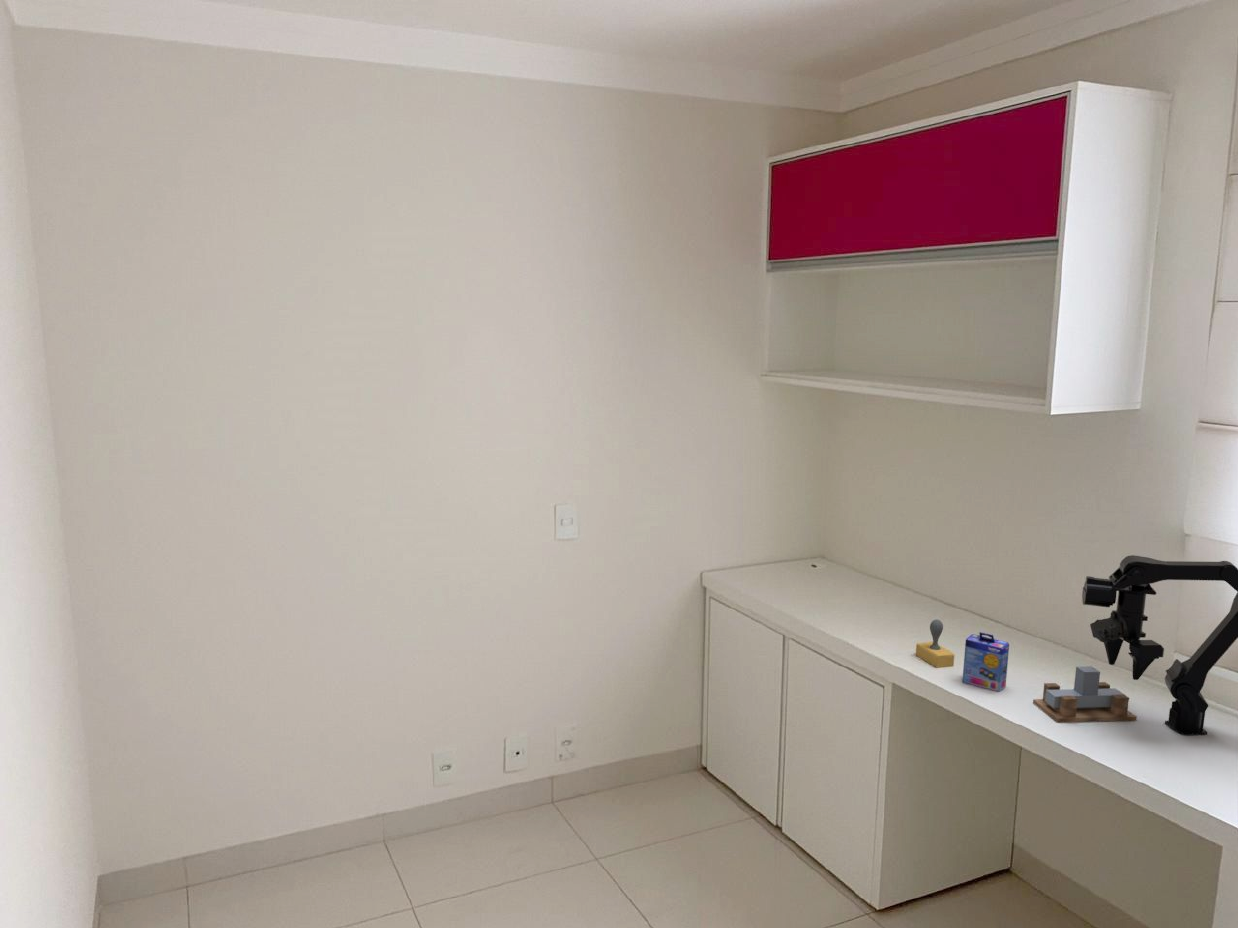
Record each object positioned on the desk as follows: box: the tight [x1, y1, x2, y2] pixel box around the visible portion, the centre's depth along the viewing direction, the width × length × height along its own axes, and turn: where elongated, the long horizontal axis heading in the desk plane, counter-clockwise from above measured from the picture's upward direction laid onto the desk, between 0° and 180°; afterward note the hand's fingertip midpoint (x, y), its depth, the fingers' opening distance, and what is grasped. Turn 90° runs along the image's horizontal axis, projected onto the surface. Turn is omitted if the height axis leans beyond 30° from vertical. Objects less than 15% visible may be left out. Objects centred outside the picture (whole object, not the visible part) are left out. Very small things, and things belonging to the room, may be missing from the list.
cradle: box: [1032, 681, 1137, 723], centre depth 227 cm, size 20×11×6 cm, turn 95°
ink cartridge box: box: [961, 631, 1010, 693], centre depth 242 cm, size 10×6×14 cm, turn 51°
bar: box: [1045, 665, 1127, 708], centre depth 226 cm, size 18×4×9 cm, turn 95°
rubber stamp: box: [915, 619, 955, 669], centre depth 258 cm, size 10×6×12 cm, turn 17°
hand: (1123, 671), depth 222 cm, fingers open, 9 cm apart
